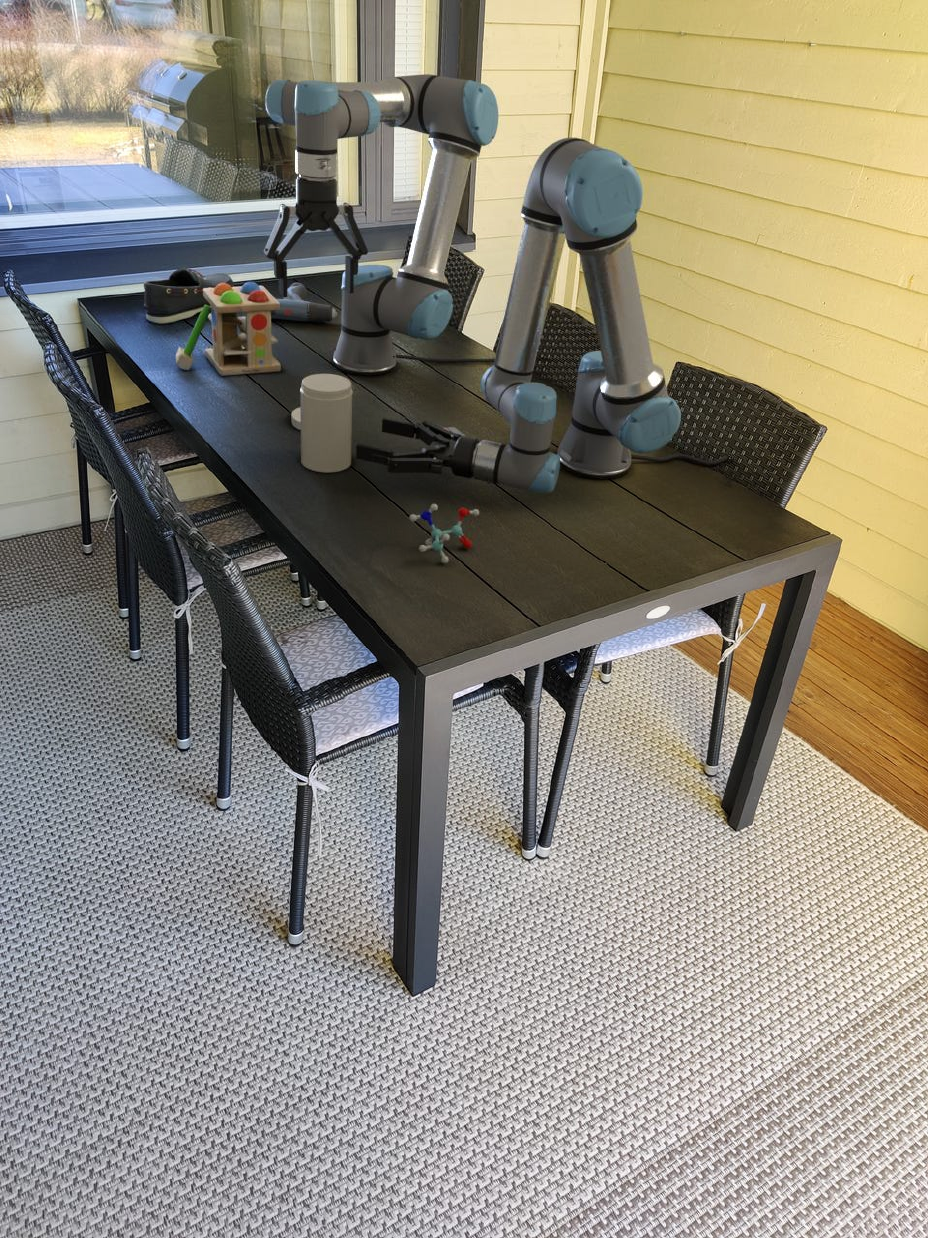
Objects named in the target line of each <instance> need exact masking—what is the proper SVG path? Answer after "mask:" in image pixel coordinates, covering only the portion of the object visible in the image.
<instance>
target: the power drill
mask: <svg viewBox="0 0 928 1238" xmlns="http://www.w3.org/2000/svg"><path fill="white" fill-rule="evenodd" d="M307 295H308V290H307V287H306V285H304V284H303V283H301V282H293V283H292V284H291V285H290V286H289V287H287V297H283V296H282V298H275V299H276V300H277V301H278V302H279V303H280V310H271V319H274V320H275V319H276V320H283V321H294V322H295V321H297V322H332V321H333V320H334V319H336V318H337V317H338V312H337V311H336V308H334V307H333V306H332V305H331V304H324V303H317V302H313V301H307V300H305V299H306V297H307Z"/></svg>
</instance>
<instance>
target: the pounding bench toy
mask: <svg viewBox="0 0 928 1238" xmlns="http://www.w3.org/2000/svg"><path fill="white" fill-rule="evenodd" d="M203 296H204V297H205V299H206V300H207V301H208V302H209V304H210V305H211V307H210V306H208V305H204V307H203V309H202V311H200V313H199V316H198V318H197V320H196V322H195V324H194V327H193V329H192V331H191V332H190V333H191V334H190V336H189V338H188V340H187V343H186V344H185V347H184V348H182V347H180V346H179V347H178V349H177V351H176V354H175V357H174V358H175V362H176V365H177V366H178V368H179V369H182V370H185V371H189V370H190V369H191V367H192V365H193V363H194V356H193V351H194V348H195V347H196V345H197V342H198V340H199V337H200V336H201V333H202V332H203V329H204V326H205V325H206V322H207V320H209V321H210V322H211V336H212V337H211V338H212V339H211V340H212V348H205V349H204V352H205V353H204V355H205V357H206V359H208V361H209V363H210V364H211V365H212V366H213V367H214V369H215V370H216V371H217V372H218V374H219V375H220V376H222V377H223V376H234V375H235V376H236V375H246V374H247V375H250V374H262V373H275V372H281V370H282V364H281V363H280V362H279V360H278V359H277V358H276V357H275V356H274V355H273V348H272V347H273V345H272V344H276V343H278V342H279V341H278V339H277V338H276V337H275V336H274V334H272V318H271V310H280V303H279V302H278V301H277V300H276V299H277V298H276V297H274V296H273V295H272V294H271V293H270V292H269V290H268V289H267V288H266V287H264V285H259V284H257V283H256V282H255V281H247V282H245V283H244V284H243V285H242V286H234V287H231V286H230V285H228V284H226V283H221V284H218V285H217V286H216V287H215V288H204V289H203ZM238 313H244V314H245V315H244V316H238ZM238 329H239V331H240V333H239V334H238Z"/></svg>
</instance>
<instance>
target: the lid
mask: <svg viewBox="0 0 928 1238" xmlns="http://www.w3.org/2000/svg"><path fill="white" fill-rule="evenodd" d="M290 418H291V421H290V422H291V425H292V426H293V427H294V428H295V429H297V430H300V431H301V410H300V406H299V407H297V408H295V409H294V410H292V412H291V417H290Z"/></svg>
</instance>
